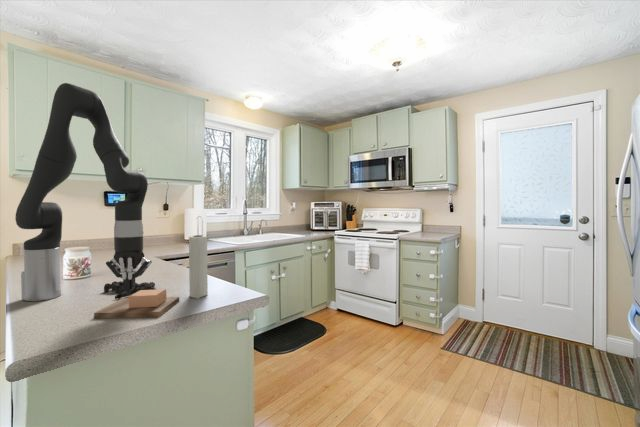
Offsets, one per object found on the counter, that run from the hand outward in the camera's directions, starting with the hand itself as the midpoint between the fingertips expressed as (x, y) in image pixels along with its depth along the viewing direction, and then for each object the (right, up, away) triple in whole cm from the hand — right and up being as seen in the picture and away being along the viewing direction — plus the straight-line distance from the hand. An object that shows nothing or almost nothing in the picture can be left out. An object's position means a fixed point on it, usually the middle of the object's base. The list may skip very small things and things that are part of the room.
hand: (129, 290), depth 92 cm
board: (+3, -6, 0) cm, 7 cm away
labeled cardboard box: (+2, -3, 0) cm, 3 cm away
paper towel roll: (+15, -6, +14) cm, 21 cm away
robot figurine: (-11, -6, +19) cm, 22 cm away
